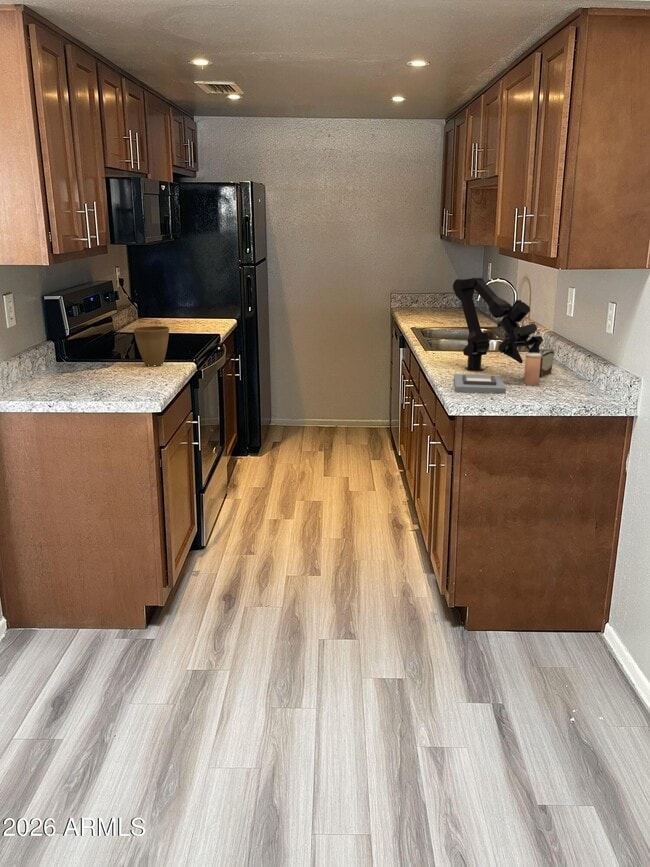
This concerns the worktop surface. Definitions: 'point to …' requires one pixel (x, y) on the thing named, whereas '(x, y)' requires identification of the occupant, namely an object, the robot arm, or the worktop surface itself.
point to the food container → (546, 361)
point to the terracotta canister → (532, 368)
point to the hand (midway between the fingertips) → (530, 361)
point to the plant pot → (152, 343)
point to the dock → (479, 383)
